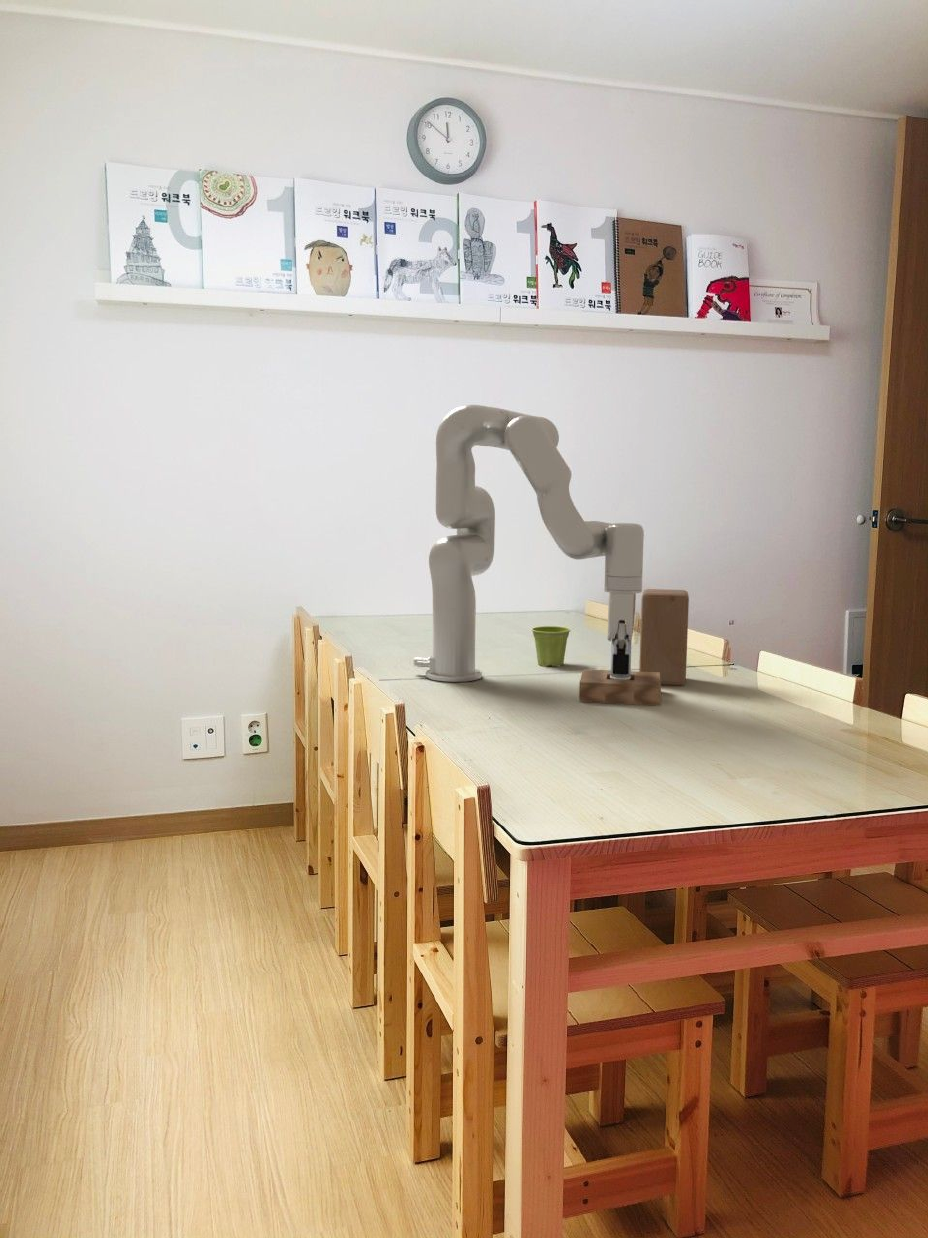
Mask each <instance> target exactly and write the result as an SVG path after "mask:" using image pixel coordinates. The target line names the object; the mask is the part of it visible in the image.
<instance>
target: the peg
mask: <svg viewBox="0 0 928 1238" xmlns="http://www.w3.org/2000/svg"><path fill="white" fill-rule="evenodd" d="M617 639H618V638H617ZM624 639H627V638H624ZM614 640H615V637H614V639H611V647H610V648H611V649H610V650H611V652H610V653H611V655H610V670H611V675H610V679H611V680H630V679H631V676H630V672H631V667H632V665H631V662H632V640H631V641H630V642H629V643H628V655H629V673H628V674H627V675H623V674H613V654H614V645H615V642H614ZM628 640H629V639H628ZM625 650H626V648H625Z"/></svg>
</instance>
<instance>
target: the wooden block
mask: <svg viewBox="0 0 928 1238" xmlns="http://www.w3.org/2000/svg"><path fill="white" fill-rule="evenodd" d="M640 600H641V602H640V603H641V604H640V606H641V607H640V630H639V631H640V633H639V634H640V635H639V637H640V638H639V660H638V661H639V665H638V666H639V668H638V669H639V670H638V672H659V673H660V680H661V686H684V685H685V683H686V681H687V680H686V679H687V660H688V659H687V657H688V635H689V633H688V629H689V627H688V626H689V608H690V607H689V605H690V597H689V593H688V590H685V589H664V588H663V589H662V588H661V589H658V588H656V589H655V588H647V589H644V590H642V594H641V599H640Z"/></svg>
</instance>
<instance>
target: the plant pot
mask: <svg viewBox="0 0 928 1238" xmlns="http://www.w3.org/2000/svg"><path fill="white" fill-rule="evenodd" d="M530 630H531V632H532V635H533V637H534V644H535V650H536V658H537V659H536V660H537V664H538V666H543V667H548V666H549V667H550V666H552V667H560V666H563V665H564V664H565V663H564V662H565V656H566V649H567V643H568V638H569V635H570V632H572V631H571V628H570V627H567V626H566V627H565V626H557V625H555V626H554V625H552V626H551V625H550V626H549V625H548V626H547V625H546V626H536V627H535V626H534V627H532V628H531V629H530Z"/></svg>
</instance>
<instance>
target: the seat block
mask: <svg viewBox="0 0 928 1238" xmlns="http://www.w3.org/2000/svg"><path fill="white" fill-rule="evenodd" d="M580 675H581V676H580V679H579V688H578V689H579V691H578V692H579V695H578V702H579V703H593V704H595V703H596V704H622V705H640V706H642V705H643V706H661V704H662V703H661V699H662V698H661V697H662V696H661V695H662V685H661V680H660V673H659V672H639V671H636V670H633V671H631V672H630V676H631V679H630V680H611V679H610V675H611V669H609V670H608V669H606V670H604V669H603V670H602V669H582V673H581V674H580Z"/></svg>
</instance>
